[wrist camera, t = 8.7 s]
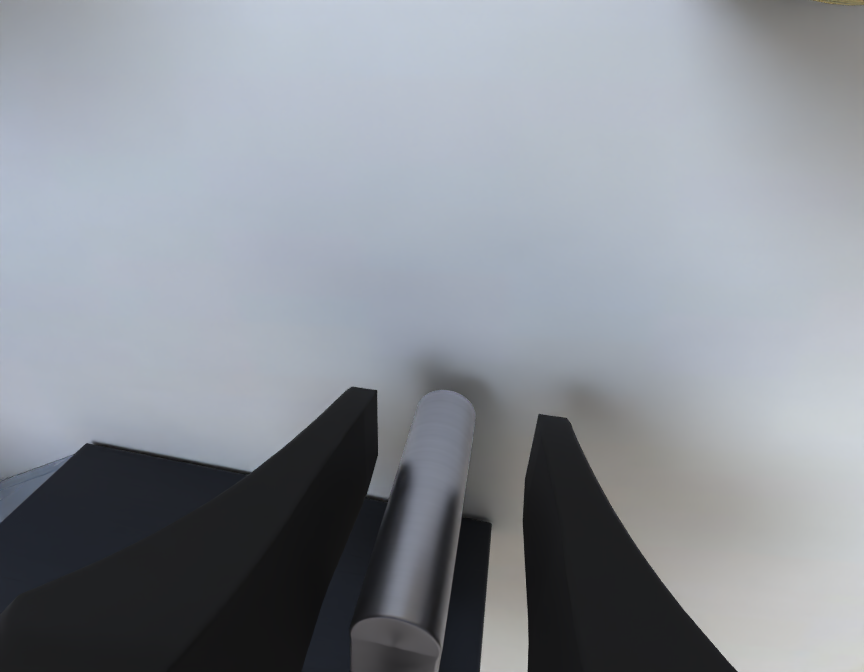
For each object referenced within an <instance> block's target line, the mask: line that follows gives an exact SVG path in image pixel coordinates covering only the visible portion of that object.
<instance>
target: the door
mask: <svg viewBox="0 0 864 672" xmlns="http://www.w3.org/2000/svg"><path fill="white" fill-rule="evenodd" d="M475 421H476V412H475V409H474V407H473V405H472V404H471V402H470V401H469V400H468V399H467V398H465V397H464V396H463V395H461V394H459V393H457V392H454V391H450V390H436V391H433V392H430V393H428V394H426V395H425V396H424V397H423V398H422V399H421V400H420V401H419V403H418V406H417V409H416V412H415V415H414V418H413V422H412V425H411V428H410V432H409V435H408V438H407V441H406V445H405V448H404V451H403V454H402V458H401V461H400V464H399V467H398V471H397V474H396V477H395V480H394V484H393V487H392V490H391V494H390V497H389V500H388V502H383V501H377V500H372V499H367V498H365V500H364V502H363V505H362V507H361V509H360V512H359V514H358V517H357V519H356V522H355V524H354V526H353V529H352V531H351V534H350V536H349V538H348V541H347V543H346V546H345V548H344V550H343V553H342V555H341V557H340V560H339V562H338V565H337V567H336V569H335V572H334V574H333V577H332V579H331V581H330V584H329V587H328V589H327V592H326V595H325V597H324V600H323V603H322V606H321V609H320V612H319V616H318V619H317V622H316V625H315V628H314V632H313V635H312V638H311V641H310V644H309V648H308V651H307V654H306V658H305V661H304V664H303V668H302V671H301V672H480V662H481V650H482V638H483V626H484V614H485V601H486V589H487V577H488V565H489V553H490V541H491V528H492V524H491V523H489V522H484V521H479V520H474V519H469V518H464V517H462V511H463V504H464V497H465V490H466V483H467V476H468V470H469V463H470V456H471V449H472V442H473V435H474V428H475ZM246 476H247V475H245V474H240V473H235V472H230V471H225V470H220V469H215V468H210V467H205V466H200V465H195V464H189V463H184V462H179V461H174V460H169V459H164V458H159V457H154V456H149V455H144V454H139V453H134V452H128V451H123V450H118V449H113V448H108V447H103V446H98V445H93V444H88V443H87V444H85V445H84V446H83V447H82V448H81V449H80V450H78V451H77V452H76V453H75V454H74V455H73V456H72V457H71V458H70V459H69V460H68V461H67V462H65V463H64V464H63V465H62V466H61V467H60V468H59V469H58V470H57V471H56V472H55V473H54V474H53V475H51V476H50V477H49V478H48V479H47V480H46V481H45V482H44V483H43V484H42V485H41V486H40V487H38V488H37V489H36V490H35V491H34V492H33V493H32V494H31V495H30V496H29V497H28V498H27V499H26V500H24V501H23V502H22V503H21V504H20V505H19V506H18V507H17V508H16V509H15V510H14V511H13V512H11V513H10V514H9V515H8V516H7V517H6V518H5V519H4V520H3V521H2V522H1V523H0V614H1V613H2V612H3V611H4V610H5V609H6V607H7V606H8V605H9V604H10V603H11V602H12V601H13V600H14V599H15V598H16V597H17V596H18V595H19V594H22V593H24V592H27V591H29V590H32V589H34V588H37V587H39V586H41V585H44V584H46V583H48V582H51V581H53V580H55V579H58V578H60V577H62V576H65V575H67V574H69V573H72V572H74V571H76V570H79V569H81V568H83V567H86V566H88V565H90V564H92V563H95V562H97V561H99V560H101V559H103V558H105V557H108V556H110V555H112V554H114V553H116V552H118V551H120V550H122V549H124V548H126V547H128V546H130V545H132V544H134V543H136V542H138V541H140V540H142V539H144V538H146V537H148V536H150V535H152V534H154V533H155V532H157V531H159V530H161V529H163V528H165V527H166V526H168V525H170V524H172V523H173V522H175V521H177V520H179V519H180V518H182V517H184V516H185V515H187V514H189V513H191V512H192V511H194V510H196V509H197V508H199V507H201V506H202V505H204V504H206V503H207V502H209V501H211V500H212V499H214V498H215V497H217V496H218V495H220V494H221V493H223V492H224V491H226V490H227V489H229V488H230V487H232V486H233V485H235V484H236V483H237V482H239V481H240V480H242V479H243V478H245V477H246Z"/></svg>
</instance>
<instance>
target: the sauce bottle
mask: <svg viewBox="0 0 864 672" xmlns="http://www.w3.org/2000/svg"><path fill="white" fill-rule="evenodd" d="M813 1H818V2H824V3H829V4H838V5H850V6H853V5H864V0H813Z"/></svg>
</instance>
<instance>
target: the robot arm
mask: <svg viewBox="0 0 864 672" xmlns="http://www.w3.org/2000/svg"><path fill="white" fill-rule="evenodd" d="M377 456H378V423H377V390H371V389H365V388H358V387H350V388H349V389H348V390H347V391H345V392H344V393H343V394H342V395H341V396H340V397H339V398H338V399H337V400H336V401H335V402H334V403H333V404H332V405H331V406H330V407H329V408H328V409H326V410H325V411H324V412H323V413H322V414H321V415H320V416H319V417H318V418H317V419H316V420H315V421H313V422H312V423H311V424H310V425H309V426H308V427H307V428H306V429H304V430H303V431H302V432H301V433H300V434H299V435H298V436H296V437H295V438H294V439H293V440H292V441H291V442H289V443H288V444H287V445H286V446H285V447H283V448H282V449H281V450H280V451H278V452H277V453H276V454H275V455H273V456H272V457H271V458H270V459H268V460H267V461H266V462H264V463H263V464H262V465H261V466H259V467H258V468H257V469H255V470H254V471H253V472H251V473H250V474H249V475H247V476H246V477H245V478H243V479H242V480H240V481H239V482H237V483H236V484H235V485H233V486H232V487H230V488H229V489H227V490H226V491H224V492H223V493H221V494H220V495H218V496H217V497H215V498H214V499H212V500H211V501H209V502H207V503H206V504H204V505H202V506H201V507H199V508H197V509H196V510H194V511H192V512H191V513H189V514H187V515H185V516H184V517H182V518H180V519H179V520H177V521H175V522H173V523H172V524H170V525H168V526H166V527H165V528H163V529H161V530H159V531H157V532H155V533H154V534H152V535H150V536H148V537H146V538H144V539H142V540H140V541H138V542H136V543H134V544H132V545H130V546H128V547H126V548H124V549H122V550H120V551H118V552H116V553H114V554H112V555H110V556H108V557H105V558H103V559H101V560H99V561H97V562H95V563H92V564H90V565H88V566H86V567H83V568H81V569H79V570H76V571H74V572H72V573H69V574H67V575H65V576H62V577H60V578H58V579H55V580H53V581H51V582H48V583H46V584H44V585H41V586H39V587H37V588H34V589H32V590H29V591H27V592H24V593H22V594H19V595H18V596H17V597H16V598H15V599H14V600H13V601H12V602H11V603H10V604H9V605H8V606H7V607H6V609H5V610H4V611H3V612H2V613H1V614H0V672H301V671H302V668H303V664H304V661H305V658H306V654H307V651H308V648H309V644H310V641H311V638H312V635H313V632H314V628H315V625H316V622H317V619H318V616H319V612H320V609H321V606H322V603H323V600H324V597H325V595H326V592H327V589H328V587H329V584H330V581H331V579H332V577H333V574H334V572H335V569H336V567H337V565H338V562H339V560H340V557H341V555H342V553H343V550H344V548H345V546H346V543H347V541H348V538H349V536H350V534H351V531H352V529H353V526H354V524H355V522H356V519H357V517H358V514H359V512H360V509H361V507H362V505H363V502H364V500H365V497H366V495H367V492H368V488H369V485H370V481H371V478H372V474H373V471H374V467H375V463H376V460H377ZM523 535H524V554H525V572H526V590H527V608H528V637H529V648H528V672H737V671H736V669H735V668H734V667H733V666H732V665H731V664H730V663H729V662H728V661H727V660H726V658H725V657H724V656H723V655H722V654H721V653H720V652H719V650H718V649H717V648H716V647H715V646H714V645H713V643H712V642H711V641H710V640H709V639H708V638H707V636H706V635H705V634H704V633H703V632H702V631H701V629H700V628H699V627H698V626H697V625H696V624H695V622H694V621H693V620H692V619H691V618H690V617H689V615H688V614H687V613H686V612H685V611H684V609H683V608H682V607H681V606H680V604H679V603H678V602H677V601H676V599H675V598H674V597H673V595H672V594H671V593H670V591H669V590H668V589H667V588H666V586H665V585H664V584H663V582H662V581H661V580H660V578H659V577H658V576H657V574H656V573H655V572H654V570H653V569H652V567H651V566H650V565H649V563H648V562H647V560H646V559H645V558H644V556H643V555H642V553H641V552H640V550H639V549H638V547H637V546H636V544H635V543H634V541H633V540H632V538H631V537H630V535H629V534H628V532H627V530H626V529H625V527H624V526H623V524H622V522H621V521H620V519H619V518H618V516H617V514H616V513H615V511H614V509H613V508H612V506H611V504H610V503H609V501H608V499H607V497H606V495H605V494H604V492H603V490H602V488H601V486H600V484H599V483H598V481H597V479H596V477H595V475H594V473H593V471H592V469H591V467H590V465H589V463H588V461H587V459H586V457H585V455H584V453H583V451H582V449H581V447H580V444H579V442H578V440H577V438H576V435H575V433H574V430H573V428H572V425H571V423H570V422H569V420H568V419H567V418H563V417H556V416H549V415H542V414H539V415H538V420H537V424H536V429H535V434H534V439H533V443H532V448H531V453H530V458H529V463H528V467H527V472H526V477H525V489H524V507H523Z"/></svg>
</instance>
